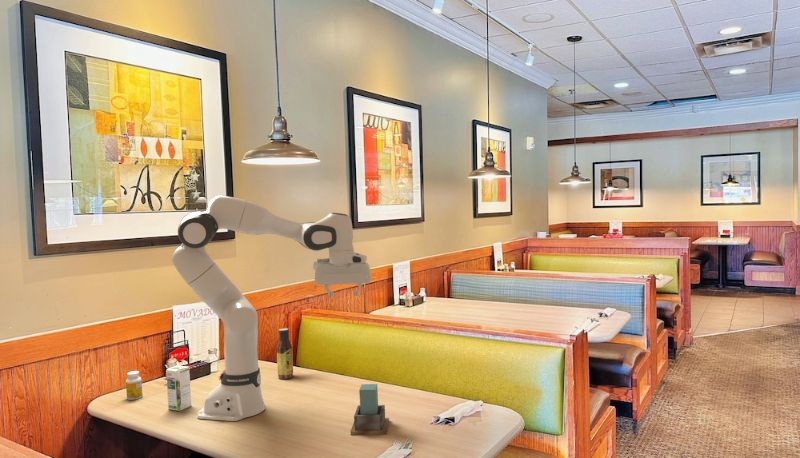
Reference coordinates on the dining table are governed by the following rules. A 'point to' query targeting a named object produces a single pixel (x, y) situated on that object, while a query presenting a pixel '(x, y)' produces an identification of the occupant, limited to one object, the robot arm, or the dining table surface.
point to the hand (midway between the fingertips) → (343, 296)
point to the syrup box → (178, 388)
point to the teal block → (369, 399)
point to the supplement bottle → (133, 385)
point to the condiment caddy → (370, 423)
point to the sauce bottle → (284, 355)
